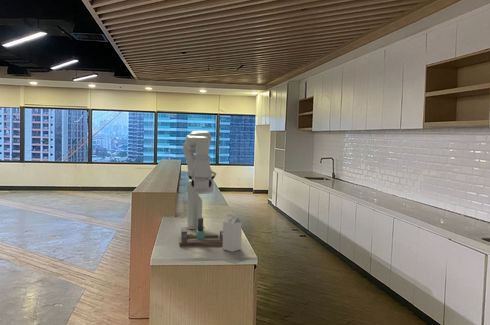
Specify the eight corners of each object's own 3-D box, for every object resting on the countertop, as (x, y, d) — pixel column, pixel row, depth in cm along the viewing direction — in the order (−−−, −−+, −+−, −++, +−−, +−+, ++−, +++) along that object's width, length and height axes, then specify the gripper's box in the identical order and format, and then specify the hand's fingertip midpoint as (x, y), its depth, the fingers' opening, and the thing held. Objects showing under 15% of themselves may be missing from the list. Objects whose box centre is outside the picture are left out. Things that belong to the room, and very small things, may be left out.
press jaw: (196, 237, 251) (196, 217, 250) (203, 237, 251) (203, 217, 251) (197, 240, 244) (197, 219, 243) (204, 240, 245) (204, 219, 244)
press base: (179, 241, 252) (179, 227, 251) (222, 240, 256) (223, 226, 255) (179, 246, 240) (179, 231, 240) (225, 245, 244) (225, 231, 244)
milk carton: (231, 247, 242) (231, 212, 240) (241, 249, 237) (242, 214, 236) (222, 249, 236) (223, 214, 235) (232, 252, 232) (233, 216, 231)
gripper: (216, 157, 264) (215, 186, 265) (186, 157, 261) (186, 186, 262) (217, 158, 256) (216, 188, 257) (187, 158, 253) (186, 187, 255)
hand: (201, 187), depth 260 cm, fingers open, 9 cm apart
